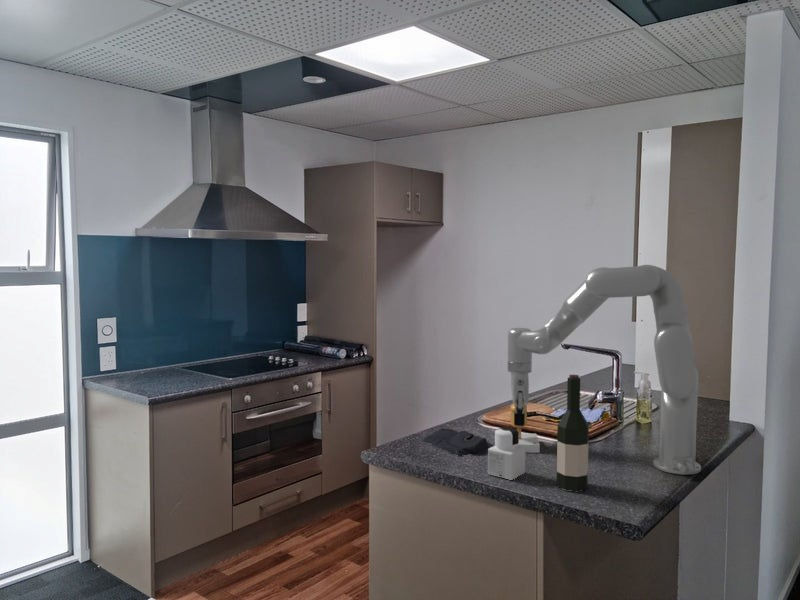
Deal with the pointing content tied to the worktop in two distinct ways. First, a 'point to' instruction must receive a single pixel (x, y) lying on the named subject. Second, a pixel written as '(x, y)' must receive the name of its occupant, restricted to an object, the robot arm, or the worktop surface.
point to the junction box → (529, 442)
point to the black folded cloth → (458, 442)
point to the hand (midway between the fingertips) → (518, 422)
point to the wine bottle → (572, 442)
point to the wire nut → (514, 412)
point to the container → (506, 455)
